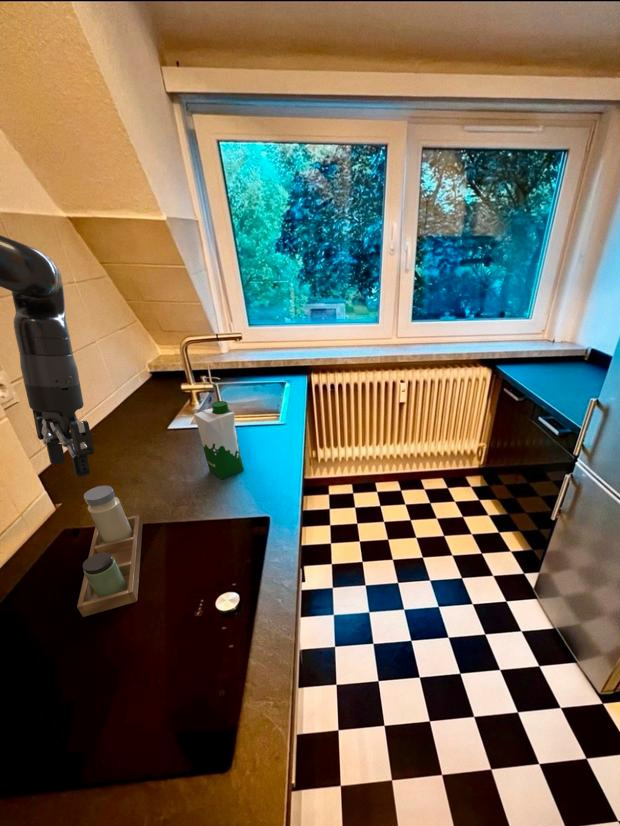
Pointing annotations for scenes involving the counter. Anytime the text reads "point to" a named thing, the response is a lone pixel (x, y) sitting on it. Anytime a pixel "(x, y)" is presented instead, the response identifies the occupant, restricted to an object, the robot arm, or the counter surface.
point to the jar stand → (128, 563)
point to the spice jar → (104, 575)
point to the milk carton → (220, 440)
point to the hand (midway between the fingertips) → (70, 469)
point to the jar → (108, 514)
